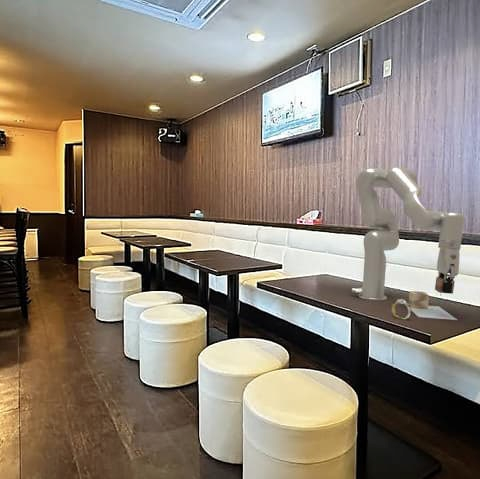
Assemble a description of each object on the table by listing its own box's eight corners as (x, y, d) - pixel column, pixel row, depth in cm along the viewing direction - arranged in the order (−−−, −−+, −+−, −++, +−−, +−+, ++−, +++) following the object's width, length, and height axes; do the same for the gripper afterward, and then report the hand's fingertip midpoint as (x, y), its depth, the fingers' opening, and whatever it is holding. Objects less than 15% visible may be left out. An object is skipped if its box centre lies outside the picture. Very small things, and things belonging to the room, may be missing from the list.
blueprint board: (418, 318, 151) (418, 316, 151) (403, 305, 172) (404, 303, 172) (457, 322, 149) (457, 319, 149) (437, 307, 170) (438, 305, 170)
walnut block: (439, 292, 152) (440, 279, 151) (434, 289, 156) (436, 277, 156) (453, 293, 151) (454, 281, 150) (448, 290, 156) (449, 278, 155)
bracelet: (389, 318, 150) (391, 297, 150) (394, 317, 152) (396, 296, 152) (406, 323, 145) (408, 301, 144) (411, 321, 147) (413, 300, 146)
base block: (412, 308, 164) (413, 294, 163) (408, 304, 170) (409, 290, 169) (427, 309, 163) (429, 295, 163) (423, 305, 169) (424, 291, 169)
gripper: (469, 248, 143) (463, 297, 145) (451, 242, 159) (445, 286, 161) (447, 247, 144) (441, 295, 146) (431, 241, 160) (426, 285, 162)
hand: (443, 290), depth 154 cm, fingers closed on walnut block, 5 cm apart
